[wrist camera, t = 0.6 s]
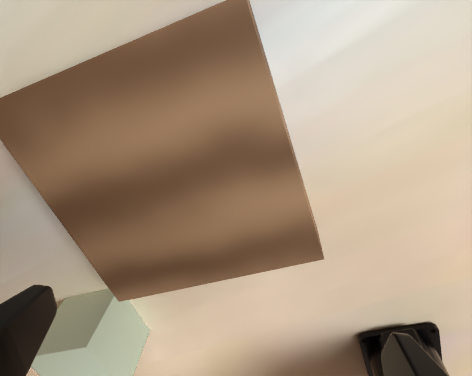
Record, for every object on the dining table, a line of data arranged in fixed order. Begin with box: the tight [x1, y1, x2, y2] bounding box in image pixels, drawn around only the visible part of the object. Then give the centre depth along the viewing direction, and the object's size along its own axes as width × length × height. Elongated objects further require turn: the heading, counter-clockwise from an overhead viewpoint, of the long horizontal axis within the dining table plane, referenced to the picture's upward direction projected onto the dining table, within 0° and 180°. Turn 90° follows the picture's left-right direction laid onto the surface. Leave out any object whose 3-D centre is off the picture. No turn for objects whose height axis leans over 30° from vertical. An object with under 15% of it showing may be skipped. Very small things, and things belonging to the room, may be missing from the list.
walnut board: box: [0, 0, 324, 302], centre depth 21 cm, size 16×16×3 cm
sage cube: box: [31, 289, 150, 376], centre depth 28 cm, size 6×6×6 cm
